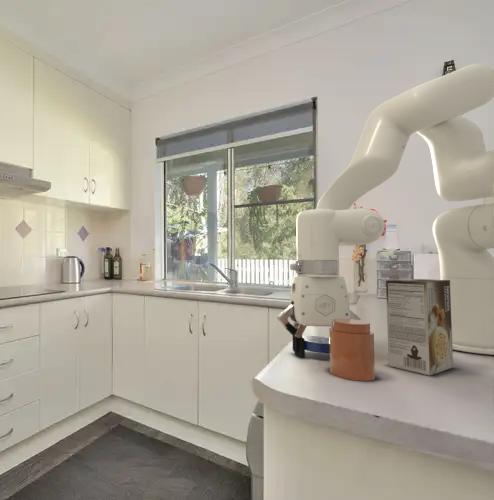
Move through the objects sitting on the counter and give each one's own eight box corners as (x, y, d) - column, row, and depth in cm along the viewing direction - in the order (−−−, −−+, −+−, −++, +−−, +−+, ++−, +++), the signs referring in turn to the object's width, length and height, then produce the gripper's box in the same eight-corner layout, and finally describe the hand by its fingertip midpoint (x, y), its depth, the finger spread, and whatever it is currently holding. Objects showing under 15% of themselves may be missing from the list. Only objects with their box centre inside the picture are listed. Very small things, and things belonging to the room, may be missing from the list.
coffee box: (410, 359, 66) (408, 278, 67) (454, 368, 61) (451, 280, 61) (387, 366, 62) (384, 279, 63) (431, 376, 57) (428, 281, 57)
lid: (338, 348, 69) (338, 338, 69) (337, 355, 64) (337, 345, 64) (301, 343, 73) (301, 334, 73) (297, 349, 68) (297, 340, 68)
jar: (327, 366, 62) (326, 317, 62) (370, 371, 59) (368, 319, 60) (332, 377, 56) (331, 323, 57) (379, 383, 54) (378, 326, 54)
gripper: (281, 269, 66) (282, 360, 65) (374, 270, 65) (375, 363, 64) (267, 268, 73) (268, 350, 73) (350, 269, 72) (351, 352, 72)
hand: (318, 355), depth 69 cm, fingers closed on lid, 6 cm apart
